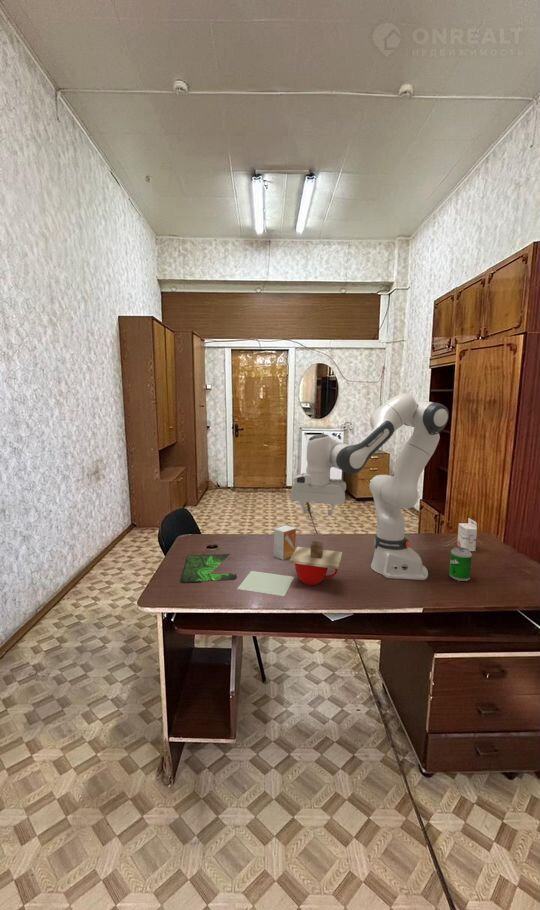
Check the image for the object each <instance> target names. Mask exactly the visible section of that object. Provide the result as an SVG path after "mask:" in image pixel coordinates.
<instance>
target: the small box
mask: <svg viewBox="0 0 540 910" xmlns="http://www.w3.org/2000/svg"><path fill="white" fill-rule="evenodd" d="M296 532H297V528H296V527H293V526H289V525H287V524H286V525H283V526H279V527H276V528H274V529H273V557H274V558H277V559H278V560H282V561H285V560H287V559H290V558H291V556H292V555H293V553H294V552H295V550H296V542H297V541H296V540H297V539H296V537H297V536H296V534H297V533H296Z"/></svg>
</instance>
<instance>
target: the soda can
mask: <svg viewBox="0 0 540 910" xmlns="http://www.w3.org/2000/svg"><path fill="white" fill-rule="evenodd" d="M449 557H450V558H449V569H448V570H449V572H448V573H449V574H448V575H449V577H450V578H451V577H452V578H453V579H455V580H458V581H457V582H459V581H466V582H468V581H469V580H471V573H472V572H471V571H472V559H473V554H472V553H471V552H470V550H468V549H466V548H462V547H458V546H455V547H453V548H452V549H451V550H450V556H449ZM452 578H451V579H452ZM453 579H452V580H453ZM455 580H454V581H455Z"/></svg>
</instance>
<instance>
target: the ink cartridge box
mask: <svg viewBox="0 0 540 910" xmlns="http://www.w3.org/2000/svg"><path fill="white" fill-rule="evenodd" d="M467 520H468V521H467V523H460V522H459V523H458V530H457V531H458V533H457V542H456V543H457V544H456V546H457V545H458V546H459V547H462V548H466V549H468V550H470V551H475V552H476V543H477V536H478V535H477V532H478V523H477V521H475V520H474V519H471V518H470V517H468V518H467ZM458 546H457V547H458Z"/></svg>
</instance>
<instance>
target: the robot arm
mask: <svg viewBox="0 0 540 910" xmlns="http://www.w3.org/2000/svg"><path fill="white" fill-rule="evenodd" d="M449 417H450V414H449V409H448V407H447V406H445V405H444V404H442V403H438V402H432V401H427V400H415V398H414V397H413V396H412V395H410V394H408V393H400V394H397V395H396V396H395V395H394V397H392V398H390V399H388V400H387V401H385V402H384V403H383V404H381V405H380V406H379V407H377V408H376V409H375V410H374V411H373V413H371V415H370V417H369V425H370V427H371V428H372V430H371V431H370V432H369V433H368V434H367V435H366V436H364V438H363V439H362V440H361V441H359V442H358V443H355V444H347V443H342V442H340V441H338V440H336V439H334V438H332V437H331V436H330V435H329V434H323V433H321V434H316V435H315V434H314V435H313V436H311V437H309V439H308V441H307V445H306V462H307V466H306V469H305V470H306V471H305V472H303V473H299V474H297V475H296V476H295V477H294V478H293V484H292V486H291V491H290V500H291V501H292V502H299V505H300V507H301V509H302V514H307V513H308V507H305V505H304V504H305V503H310V504H311V503H312V504H328V505H330V507H331V508H330V509H328V510H327V516H332V515H333V511H334V509H335V507H336V505H339V506H342V505H343V504H345V502H346V494H345V492H346V490H347V482H346V481H344V480H343V479H341V478H340V479H339V478H338V479H336V478H331V468H335V469H338V470H340V471H342V472H344V473H346V474H348V475H349V474H350V475H354V474H358V473H360V472H361V471H362V470H363V469H364V468H365V466H366V464H367V463H368V461H369V460H370V458H371V457H372V456H374V454H375V453H376V452H377V451H378V450H380V448H381V447H382V446H384V444H386V443H387V442H388V440H390V438H392V436H393V434H394V433H395V432H396V431H397V430H398V429H400V428H401V427H402V426H403V425H405V426H406V427H412V428H413V432H412V435H411V436H410V437H409V439H408V440H407V442H405V444H404V446H403V447H402V449H401V451H400V452H399V453H398V455H397V456H396V457H397V458H396V459H395V464H396V468H395V471H394V474H393V476H392V475H389V474H377V475H375V476H374V477H373V478H371V480H370V482H369V486H368V487H369V491H370V492H371V495H372V497H373V502H374V503H373V504H374V507H375V513H376V533H375V536H374V543H373V544H374V554H373V556H372V557H373V558H372V562H371V564H370V568H371V570H372V571H374V572H375V573H378V574H380V575H383V577H384V578H387V579H402V580H419V581H421V580H423V581H425V580H427V579H428V577H429V571H428V568H426V566H425V565H423V561H422V558H421V556H420V555H419V554H418V553H417V552H416V551H415V550H414V549H412V544H411V542H410V540H409V538H408V537H405V529H406V525H405V524H406V520H405V516H404V514H403V512H402V509H406V510H407V509H408V510H409V509H410V508H414V507H415V505H416V504H417V503H418V500H419V491H418V485H419V484H418V483H419V480H420V477H421V474H422V472H423V471H424V469H425V467H426V466H427V465H428V462H429V461H430V459H431V458H432V456H433V455H434V453H435V451H436V448H437V446H438V445H439V441H440V438H441V437H440V436H441V435H440V433H441V432H442V431H443V430H444V428H445V427H446V425H447V423H448V422H449V419H450V418H449Z"/></svg>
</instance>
